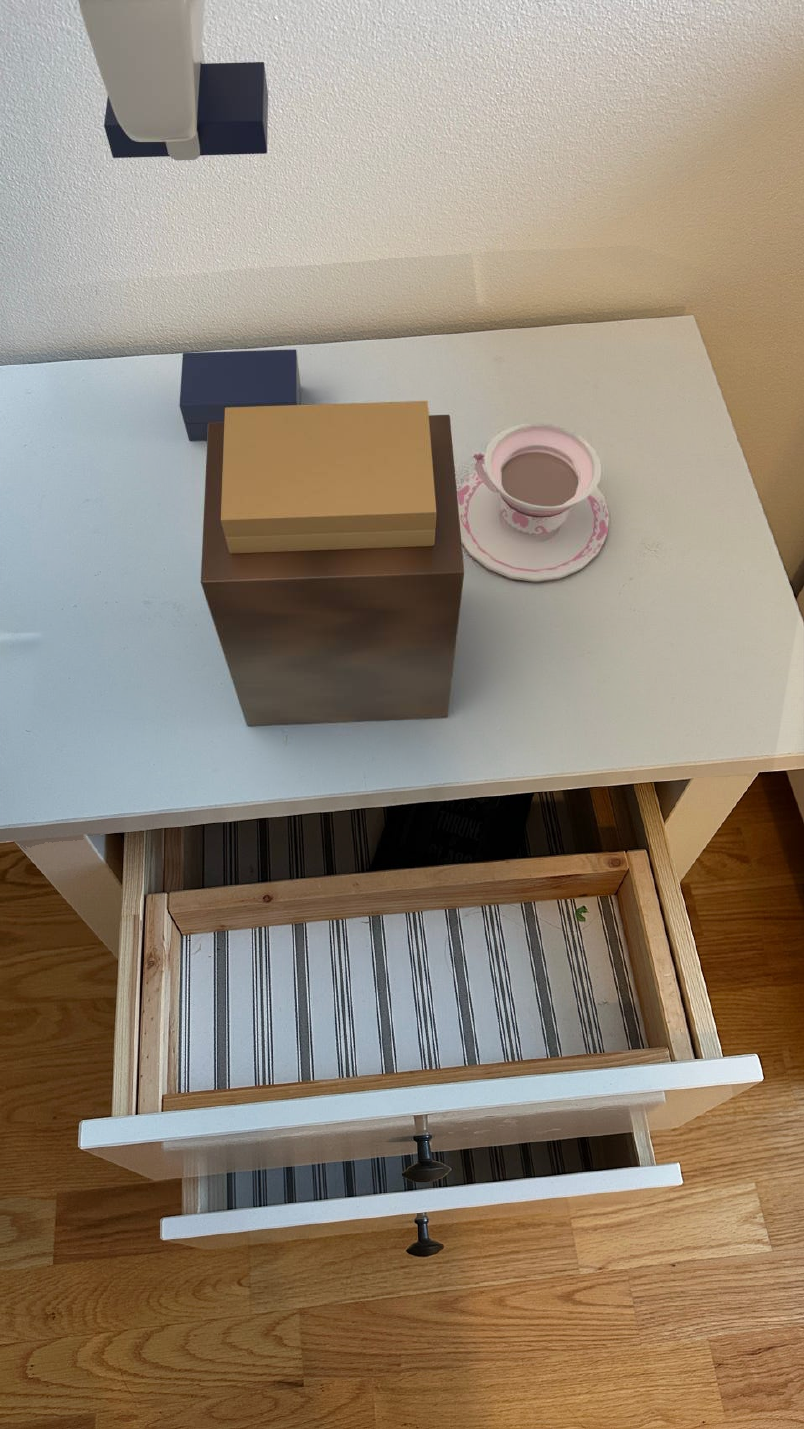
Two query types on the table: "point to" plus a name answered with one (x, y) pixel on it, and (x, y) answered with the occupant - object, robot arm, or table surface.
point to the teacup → (534, 504)
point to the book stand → (338, 614)
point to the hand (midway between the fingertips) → (188, 115)
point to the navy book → (213, 114)
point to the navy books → (235, 384)
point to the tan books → (328, 477)
